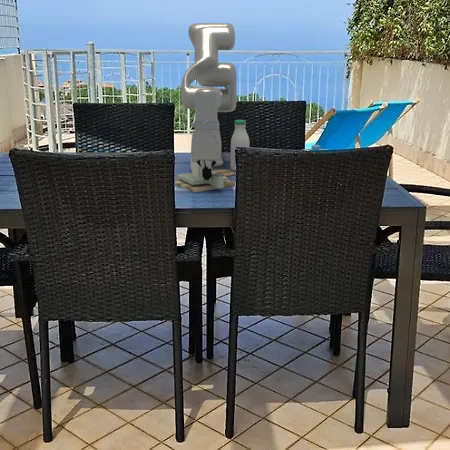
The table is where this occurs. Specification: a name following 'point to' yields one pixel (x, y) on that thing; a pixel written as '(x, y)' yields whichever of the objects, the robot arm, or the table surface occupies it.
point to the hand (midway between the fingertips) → (207, 179)
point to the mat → (224, 172)
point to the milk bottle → (238, 139)
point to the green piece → (215, 180)
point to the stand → (200, 185)
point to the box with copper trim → (197, 169)
